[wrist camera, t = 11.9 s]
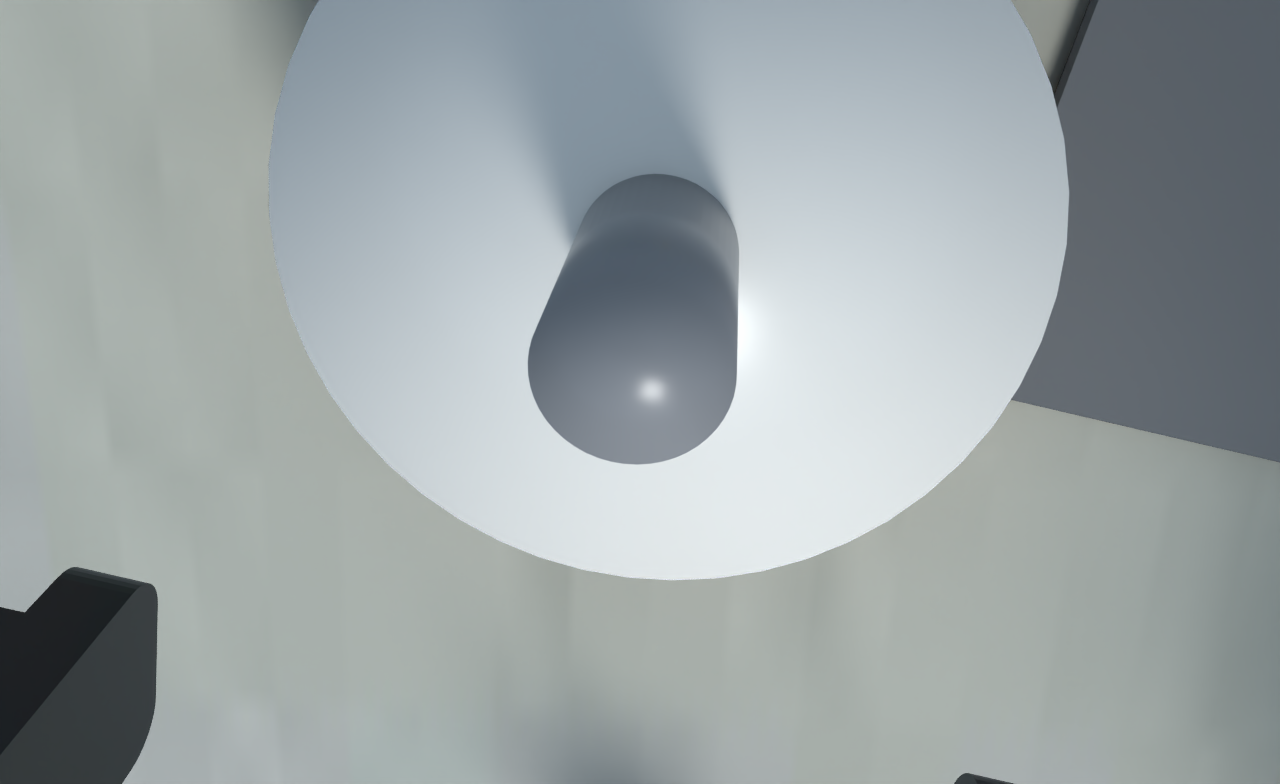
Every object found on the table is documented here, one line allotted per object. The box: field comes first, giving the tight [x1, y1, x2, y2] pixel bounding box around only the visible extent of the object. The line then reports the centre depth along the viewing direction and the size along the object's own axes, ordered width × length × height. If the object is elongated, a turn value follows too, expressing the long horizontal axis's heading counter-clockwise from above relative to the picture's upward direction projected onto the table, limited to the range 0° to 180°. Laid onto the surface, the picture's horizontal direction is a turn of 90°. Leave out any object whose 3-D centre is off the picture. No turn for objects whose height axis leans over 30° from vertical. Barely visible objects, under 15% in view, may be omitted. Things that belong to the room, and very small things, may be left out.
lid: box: [269, 0, 1069, 580], centre depth 22 cm, size 17×17×7 cm
